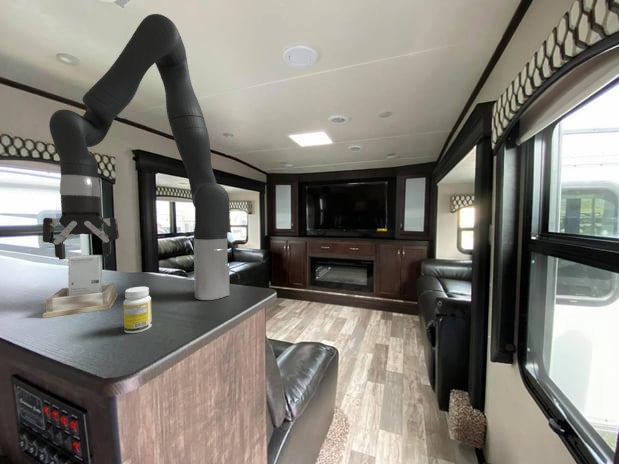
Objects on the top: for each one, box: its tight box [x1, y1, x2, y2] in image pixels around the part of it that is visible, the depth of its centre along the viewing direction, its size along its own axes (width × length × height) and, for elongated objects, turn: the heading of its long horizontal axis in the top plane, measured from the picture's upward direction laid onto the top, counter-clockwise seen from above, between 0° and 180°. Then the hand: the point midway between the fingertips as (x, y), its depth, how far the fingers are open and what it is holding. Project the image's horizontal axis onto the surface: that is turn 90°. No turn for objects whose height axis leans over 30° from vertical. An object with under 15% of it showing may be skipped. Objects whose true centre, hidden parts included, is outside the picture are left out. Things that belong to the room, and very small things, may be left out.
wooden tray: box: [42, 282, 118, 319], centre depth 64 cm, size 12×12×4 cm
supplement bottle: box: [122, 286, 153, 334], centre depth 51 cm, size 5×5×8 cm
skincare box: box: [68, 254, 103, 296], centre depth 64 cm, size 6×4×12 cm
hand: (84, 257), depth 64 cm, fingers open, 8 cm apart
